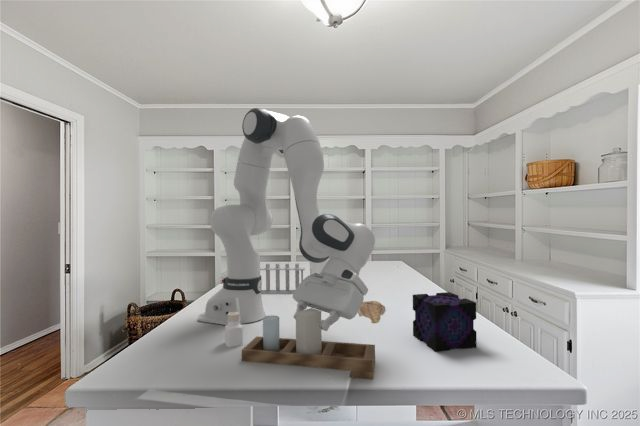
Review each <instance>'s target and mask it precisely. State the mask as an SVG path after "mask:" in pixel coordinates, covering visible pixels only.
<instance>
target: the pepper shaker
mask: <svg viewBox="0 0 640 426" xmlns="http://www.w3.org/2000/svg"><path fill="white" fill-rule="evenodd" d="M239 320H240V313H239V312H230V313H228V314H227V321H228V325H224V344H225V345H226V347H227V348H233V347H238V346H242V345H243V344H244V341H243V340H244V338H243V337H244V336H243V334H244V333H243V331H244V330H243V327H244V326H243V324H239Z"/></svg>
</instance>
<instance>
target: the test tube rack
mask: <svg viewBox="0 0 640 426" xmlns="http://www.w3.org/2000/svg"><path fill="white" fill-rule="evenodd" d="M284 266H285V267H280V263H275V267H271V264H270V262H269V263H266V264H265V267H260V271H265V288H266V289H262V291H261V295H268V294H269V295H270V294H271V295H272V294H273V295H277V294H278V295H281V294H282V295H286V294H287V295H289V294H291V295H293V292H294V291H295V289H296V288H297V287H298V286H299V284H300V283H301V282H302V281H303V280H304V271H305V270H306V267H300V263H299V262H298V263H297V262H295V266H294V267H290V262H289V263H285V265H284ZM271 271H275V289H271ZM281 271H284V272H285V289H281V288H280V287H281V286H280V283H281V279H280V276H281V275H280V273H281ZM290 271H294V273H295V275H294V277H295V279H294V281H295V283H294V284H295V289H290ZM300 273H301V274H300ZM300 275H301V277H300ZM300 279H301V280H300ZM300 281H301V282H300Z"/></svg>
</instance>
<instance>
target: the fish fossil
mask: <svg viewBox="0 0 640 426" xmlns="http://www.w3.org/2000/svg"><path fill="white" fill-rule="evenodd" d="M385 311H386V306H385V305H384V304H382V303H381V302H379V301H378V300H377V301H376V300H369V301H363V303H362V305H361V307H360V309H359V311H358V313H357V314H358V316H359V317H365V318H368V319H370V321H371V324H378V323H379V322H380V321H381V316H384V314H385Z"/></svg>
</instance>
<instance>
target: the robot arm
mask: <svg viewBox="0 0 640 426" xmlns="http://www.w3.org/2000/svg"><path fill="white" fill-rule="evenodd" d="M241 124H242V126H241V128H242V133H243V136H244V138H243V141H242V144H241V147H240V150H239V154H238V157H237V163H236V169H235V173H234V179H233V186H234V188H235V190H236V191H238V194H239V204H226V205H223V206H219V207H216V208H215V209H214V210H213V211H212V213H211V216H210V218H209V224H210V229H211V230H212V232H213V233H214V234H215V235H216V236H217V237H219V240H220V241H221V243H222V245H223V248H224V250H225V254H226V266H227V269H226V271H227V275H226V276H225V278H223V279H221V280H220V285H221V284H223V285H222V288H221V289H219V291H217V292H216V293H215V294H213V295H212V296H211V297H210V298H208V299H207V301H206V304H205V310H204V312H202V313H201V314H200V315H199V316H198V319H197V321H198V322H203V323H211V324H218V325H223V326H226V325H228V321H227V314H228V313H230V312H239V313H240V320H239V324H241V325H243V324H249V323H254V322H257V321H261V320H263V317H265V316H266V314H265V313H266V312H265V310H264V305H263V299H262V294H261V291H262V290H263V281H262V275H261V270H260V268H261V255H260V254H261V253H259V250H257V249H256V248H255V247H254V245H253V242H252V239H251V237H253V236H258V235H261V234H264V233H265V232H267V231H269V230H270V229H271V228H272V225H273V215H272V212H271V211H270V209H269V208H268V207H269V206H268V202H267V186H268V180H269V175H270V169H271V165H272V160H273V159H272V158H273V156H274V155H275V153H276V152H277V151H279V152H280V153H281V154H283V156H284V161H285V164H286V167H287V171H288V174H289V179H290V182H291V187H292V190H293V193H294V200H295V205H296V211H297V215H298V221H299V224H300V225H299V226H300V237H299V242H298V245H299V246H298V248H299V251H300V254H301V255H302V257H304V259H306V260H307V261H308V262H310V261H311V262H314V263H321V262H324V261H326V260H327V259H328V258H329V257H330V259H329V260H328V262H327V263H326V265H325V266H324V268H323V270H322V271H321V273H320V274H317V273H313V274H312V275H310V274H308V275H307V276H306V277H304V278H303V281H302V282H299V286H298V287H297V288H296V287H295V289H294V290H295V291H294V292H293V294H292V299H294V301H295V302H297V304H296V305H297V306H296V311H295V313H294V314H293V318H294V320H295V321H296V312H299V311H303V310H306V309H308V308H313V309H316V310H319V311H321V312H324V313H328V314H329V315H328V316H327V317H326V318H325V319H321V323H320V324H319V327H320V328H321V331H325V332H327V331H328V330H329V328H330V327H331V326H332V325H333V324H335V323H336V322H338V321H339V319H340V318H343V319H347V320H353V318H355V317H356V316H357V314H358V311H359V309H360V307H361V305H362V303H363V302H364V296H366V295H367V294H368V292H369V288H368V286H367V285H366V284H365V282H364V281H363V280H362V279H361V277H359V276H360V271H361V270H362V268H364V267H365V266H366V265H367V263H368V260H369V258H370V257H371V255H372V254H373V250H374V248H375V246H376V245H375V243H376V238H375V234H374V232H373V231H372V230H371V229H370V228H369V227H368V226H367V225H365V224H363V223H361V222H355V223H354V222H353V223H352V222H348V221H345V220H343V219H341V218H340V217H338V216H336V215H335V214H331V213H322V214H320V211H319V210H320V209H319V206H318V200H317V197H318V195H317V194H318V189H319V185H320V183H321V178H322V176H323V173H324V170H325V163H324V162H325V161H324V155H323V150H322V147H321V143H320V141H319V138H318V136H317V133H316V131H315V128H314V127H313V125H312V123H311V122H310V120H309V119H308V118H307V117H305V116H301V115H293V116H288V115H286V114H283V113H280V112H279V113H278V112H274V111H270V110H267V109H266V108H259V107H256V108H251V109H250V110H249V111H247V113H246V114H245V115H244V117H243V121H242V123H241Z"/></svg>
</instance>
